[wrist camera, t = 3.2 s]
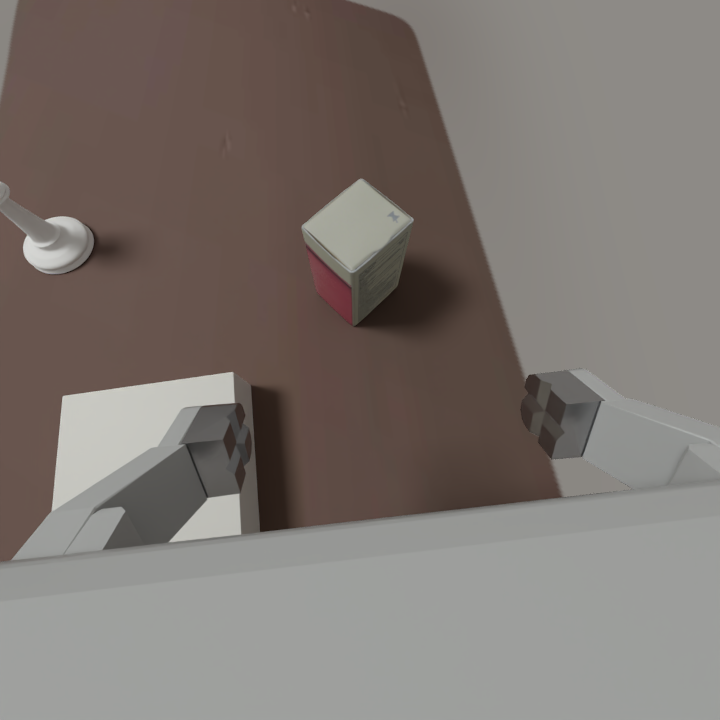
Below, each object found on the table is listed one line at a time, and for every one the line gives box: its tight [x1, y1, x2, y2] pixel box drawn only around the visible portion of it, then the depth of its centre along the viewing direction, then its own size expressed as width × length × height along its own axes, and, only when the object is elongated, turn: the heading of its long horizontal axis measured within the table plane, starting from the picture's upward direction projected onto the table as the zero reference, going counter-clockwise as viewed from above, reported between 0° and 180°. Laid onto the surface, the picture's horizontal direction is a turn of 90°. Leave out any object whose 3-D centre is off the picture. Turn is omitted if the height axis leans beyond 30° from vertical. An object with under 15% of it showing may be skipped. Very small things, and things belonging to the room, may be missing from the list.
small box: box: [302, 179, 413, 326], centre depth 23 cm, size 5×4×8 cm
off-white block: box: [52, 372, 260, 543], centre depth 21 cm, size 10×10×4 cm
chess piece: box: [0, 182, 94, 274], centre depth 23 cm, size 5×5×10 cm
